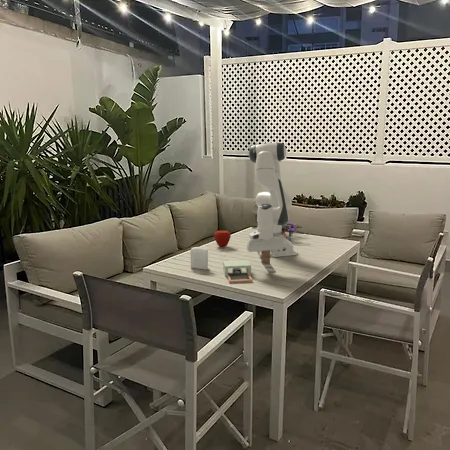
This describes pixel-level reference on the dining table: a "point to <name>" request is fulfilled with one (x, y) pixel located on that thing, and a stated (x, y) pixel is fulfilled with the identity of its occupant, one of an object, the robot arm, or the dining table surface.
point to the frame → (240, 280)
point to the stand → (236, 266)
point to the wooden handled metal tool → (267, 261)
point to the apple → (222, 238)
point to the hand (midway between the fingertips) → (265, 258)
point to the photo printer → (199, 258)
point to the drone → (286, 228)
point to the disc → (236, 271)
